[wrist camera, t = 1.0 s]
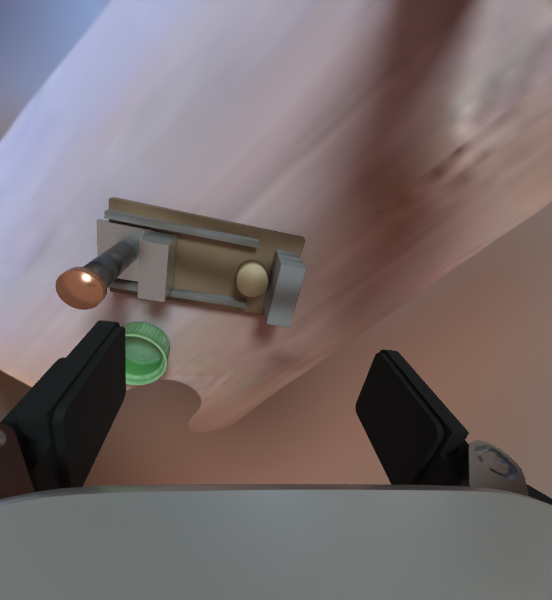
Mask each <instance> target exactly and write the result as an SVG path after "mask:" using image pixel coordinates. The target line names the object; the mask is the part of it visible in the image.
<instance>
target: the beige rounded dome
mask: <svg viewBox="0 0 552 600" xmlns="http://www.w3.org/2000/svg"><path fill="white" fill-rule="evenodd" d="M267 286H268V278H267V273H266V269H265V267H264V265H263V264H262V263H261V262H259V261H257V260H247V261H244V262H243V263H241V264H240V266H239V267H238V270H237V288H238V290H239V291H240V292H241V293H242V294H243V295H245V296H248V297H256V296H259V295H261V294H263V293H264V292H265V290H266V289H267Z"/></svg>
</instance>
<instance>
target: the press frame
mask: <svg viewBox="0 0 552 600" xmlns="http://www.w3.org/2000/svg"><path fill="white" fill-rule="evenodd" d="M105 218H107V219H109V221H112V222H117V223H122V224H127V225H132V226H137V227H142V228H147V229H152V231H156V232H161V233H166V234H171V235H176V236H177V239H176V251H175V262H174V274H173V285H172V289H171V291H170V293H169V294H168V296H167V298H166V300H171V301H178V302H184V303H191V304H197V305H204V306H210V307H217V308H224V309H230V310H237V311H243V312H250V313H256V314H263V315H265V317H266V324H271V325H278V326H284V327H290V324H291V320H292V317H293V313H294V310H295V307H296V303H297V300H298V296H299V293H300V289H301V286H302V283H303V279H304V276H305V272H306V268H305V266H304V264H303V262H302V260H301V259H300V257H301V253H302V249H303V246H304V242H305V239H304V238H303V237H301V236H296V235H291V234H286V233H282V232H277V231H272V230H267V229H263V228H258V227H253V226H248V225H244V224H239V223H234V222H229V221H225V220H220V219H215V218H210V217H206V216H201V215H196V214H191V213H187V212H182V211H177V210H172V209H168V208H163V207H158V206H153V205H149V204H144V203H139V202H135V201H130V200H125V199H120V198H116V197H113V198H110V199H109V210H106V211H105ZM247 260H257V261H259V262H261V263H262V264H263V265H264V267H265V269H266V273H267V278H268V286H267V289H266V290H265V292H264V293H263V294H261V295H259V296H256V297H248V296H245V295H243V294H242V293H241V292H240V291H239V290H238V288H237V270H238V267H239V266H240V264H241V263H243V262H244V261H247ZM108 287H110V291H112V292H118V293H125V294H132V295H138V282H137V281H131V280H125V279H119V278H116V279H115V280H114V281H113V282H112V283H111V284H110V285H109V286H108Z"/></svg>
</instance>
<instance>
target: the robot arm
mask: <svg viewBox="0 0 552 600" xmlns="http://www.w3.org/2000/svg"><path fill="white" fill-rule="evenodd" d="M125 393H126V347H125V328H124V327H120V325H119V323H118V322H110V321H98V322H97V323H96V324H95V325H94V327H93V328H92V329H91V330H90V331H89V332H88V333H87V334H86V336H85V337H84V338H83V339H82V340H81V341H80V342H79V344H78V345H77V346H76V347H75V348H74V349H73V350H72V351H71V353H70V354H69V355H68V356H67V357H66V358H60V359H59V360H57V361H56V362H55V363H54V364H53V365H52V366H51V368H50V369H49V370H48V371H47V372H46V373H45V374H44V375H43V376H42V377H41V379H40V380H39V381H38V382H37V383H36V384H35V385H34V386H33V387H32V388H31V389H30V391H29V392H28V393H27V394H26V395H25V396H24V397H23V398H22V400H20V401H19V403H18V404H17V405H16V406H15V407H14V408H13V409H12V410H11V411H10V413H9V414H8V415H7V416H6V417H5V418H4V419H3V420H2V421H1V422H0V600H552V499H551V498H549V497H548V496H546V495H544V494H543V493H541V492H539V491H537V490H536V489H534V488H532V487H530V486H529V485H527V484H526V481H525V476H524V474H523V472H522V469H521V468H520V467H519V465H518V464H517V463H516V462H515V461H514V460H513V459H512V458H511V457H510V456H509V455H508V454H506V453H505V452H504V451H502V450H501V449H499V448H497V447H496V446H494V445H492V444H490V443H487V442H484V441H480V440H475V441H472V442H470V443H469V444H468V443H467V442H466V441H465V439H466V437H467V435H468V434H469V433H468V431H467V430H466V429H465V428H464V427H463V425H462V424H461V423H460V422H459V421H458V420H457V419H456V417H455V416H454V415H453V414H452V413H451V412H450V411H449V409H448V408H447V407H446V406H445V405H444V404H443V403H442V401H441V400H440V399H439V398H438V397H437V396H436V395H435V393H434V392H433V391H432V390H431V389H430V388H429V387H428V385H427V384H426V383H425V382H424V381H423V380H422V379H421V378H420V376H419V375H418V374H417V373H416V372H415V371H414V369H413V368H412V367H411V366H410V365H409V364H408V363H407V361H406V360H405V359H404V358H403V357H402V356H401V355H400V354H399V353H398V352H397V351H392V350H381V351H380V352H379V353H377V354H376V355H375V357H374V360H373V362H372V365H371V367H370V370H369V372H368V375H367V377H366V380H365V383H364V385H363V387H362V390H361V392H360V395H359V397H358V400H357V402H356V413H357V415H358V417H359V419H360V421H361V423H362V425H363V427H364V429H365V431H366V433H367V435H368V438H369V440H370V442H371V444H372V446H373V448H374V450H375V452H376V454H377V456H378V458H379V460H380V462H381V464H382V466H383V468H384V470H385V472H386V474H387V476H388V478H389V480H390V482H391V484H392V485H369V484H366V485H365V484H362V485H361V484H358V485H357V484H205V485H202V484H198V485H197V484H195V485H193V484H192V485H191V484H187V485H121V486H91V487H83V484H84V482H85V480H86V478H87V476H88V474H89V472H90V470H91V468H92V465H93V463H94V461H95V459H96V457H97V455H98V453H99V451H100V449H101V446H102V444H103V442H104V440H105V438H106V436H107V434H108V432H109V430H110V428H111V425H112V423H113V421H114V419H115V417H116V415H117V413H118V411H119V409H120V407H121V404H122V402H123V400H124V397H125Z"/></svg>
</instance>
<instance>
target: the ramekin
mask: <svg viewBox="0 0 552 600" xmlns="http://www.w3.org/2000/svg"><path fill="white" fill-rule="evenodd" d="M123 327H124V328H125V347H126V384H129V385H145V384H149V383H152V382H154V381H156V380H158V379H159V378H160V377H161V376H162V375H163V374H164V372H165V371H166V368H167V358H168V354H169V349H170V345H169V340H168V338H167V336H166V335H165V334H164V332H163V331H162V330H160V329H159V328H157V327H156V326H154V325H151V324H149V323H144V322H134V323H130V324H127V325H125V326H123Z"/></svg>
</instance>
